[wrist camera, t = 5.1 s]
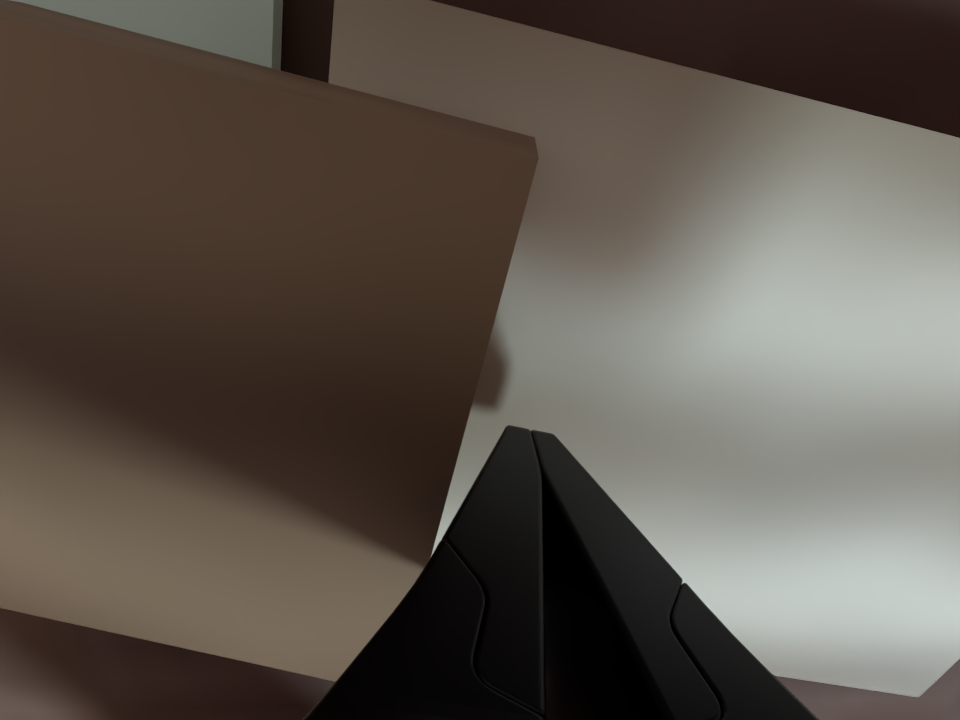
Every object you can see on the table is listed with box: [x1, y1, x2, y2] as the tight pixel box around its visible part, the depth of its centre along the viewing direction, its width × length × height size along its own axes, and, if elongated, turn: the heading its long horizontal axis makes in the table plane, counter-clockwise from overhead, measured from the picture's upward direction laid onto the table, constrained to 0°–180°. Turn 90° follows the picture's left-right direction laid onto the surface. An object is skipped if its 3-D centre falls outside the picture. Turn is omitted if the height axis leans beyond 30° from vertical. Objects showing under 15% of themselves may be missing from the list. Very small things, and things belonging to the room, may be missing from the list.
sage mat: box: [10, 0, 283, 70], centre depth 12 cm, size 16×12×1 cm
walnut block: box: [0, 0, 539, 682], centre depth 8 cm, size 9×7×2 cm
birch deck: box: [328, 0, 960, 697], centre depth 12 cm, size 12×16×4 cm
